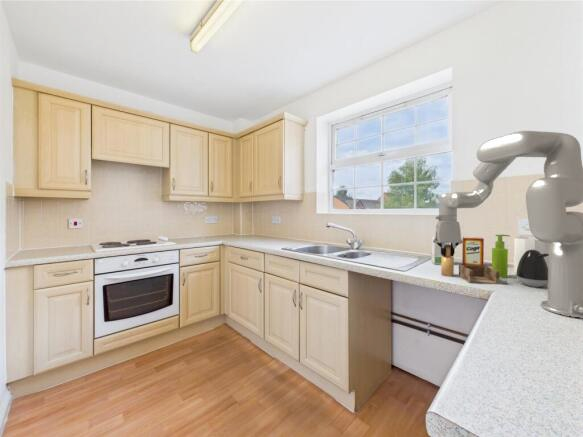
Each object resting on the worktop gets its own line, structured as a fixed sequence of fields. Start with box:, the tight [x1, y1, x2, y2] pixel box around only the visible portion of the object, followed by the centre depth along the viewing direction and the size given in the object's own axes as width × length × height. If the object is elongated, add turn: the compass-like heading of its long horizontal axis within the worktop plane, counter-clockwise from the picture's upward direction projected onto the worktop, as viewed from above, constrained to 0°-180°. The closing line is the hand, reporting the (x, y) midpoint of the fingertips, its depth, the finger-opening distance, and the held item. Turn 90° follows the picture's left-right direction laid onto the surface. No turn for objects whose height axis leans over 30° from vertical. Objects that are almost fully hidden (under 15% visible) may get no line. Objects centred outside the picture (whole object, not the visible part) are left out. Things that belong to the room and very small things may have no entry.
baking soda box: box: [461, 236, 485, 266], centre depth 148 cm, size 10×6×16 cm
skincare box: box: [431, 236, 451, 265], centre depth 152 cm, size 8×7×16 cm
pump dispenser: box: [515, 250, 549, 288], centre depth 108 cm, size 10×10×15 cm
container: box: [513, 236, 551, 274], centre depth 125 cm, size 14×14×18 cm
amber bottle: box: [440, 244, 455, 278], centre depth 126 cm, size 5×5×15 cm
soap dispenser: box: [491, 233, 511, 278], centre depth 123 cm, size 6×7×20 cm
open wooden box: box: [458, 264, 500, 285], centre depth 117 cm, size 11×11×6 cm
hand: (447, 255), depth 126 cm, fingers closed on amber bottle, 2 cm apart
